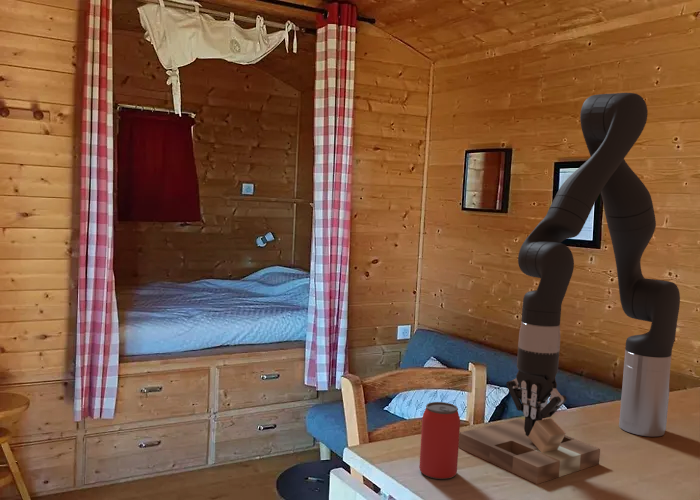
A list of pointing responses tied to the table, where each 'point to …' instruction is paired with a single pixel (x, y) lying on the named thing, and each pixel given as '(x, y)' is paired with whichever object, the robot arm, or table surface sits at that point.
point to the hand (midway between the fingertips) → (531, 436)
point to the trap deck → (527, 452)
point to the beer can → (439, 440)
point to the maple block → (546, 435)
